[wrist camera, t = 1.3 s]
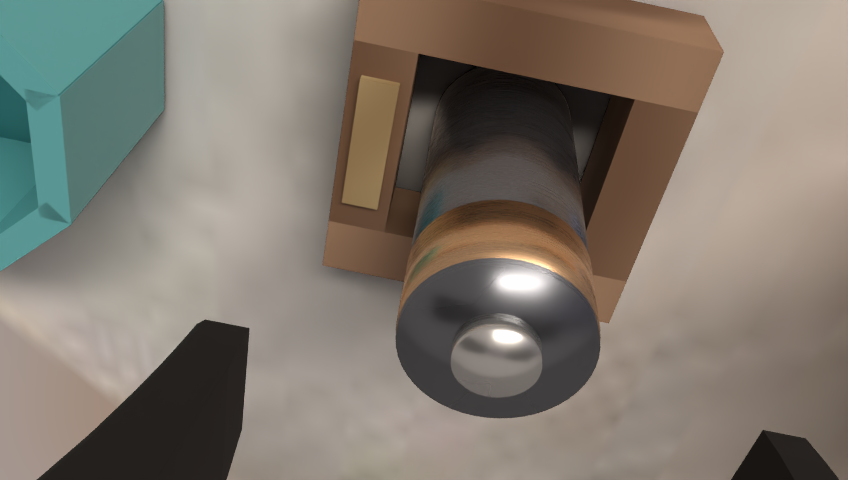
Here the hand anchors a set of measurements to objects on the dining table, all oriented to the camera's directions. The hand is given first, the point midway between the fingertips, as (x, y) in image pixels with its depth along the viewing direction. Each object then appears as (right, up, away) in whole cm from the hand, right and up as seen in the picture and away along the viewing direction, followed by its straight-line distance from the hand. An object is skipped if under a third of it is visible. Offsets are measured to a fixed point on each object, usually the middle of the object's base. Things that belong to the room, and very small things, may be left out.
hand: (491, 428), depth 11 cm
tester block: (+1, +5, +8) cm, 9 cm away
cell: (+1, +5, +8) cm, 9 cm away
